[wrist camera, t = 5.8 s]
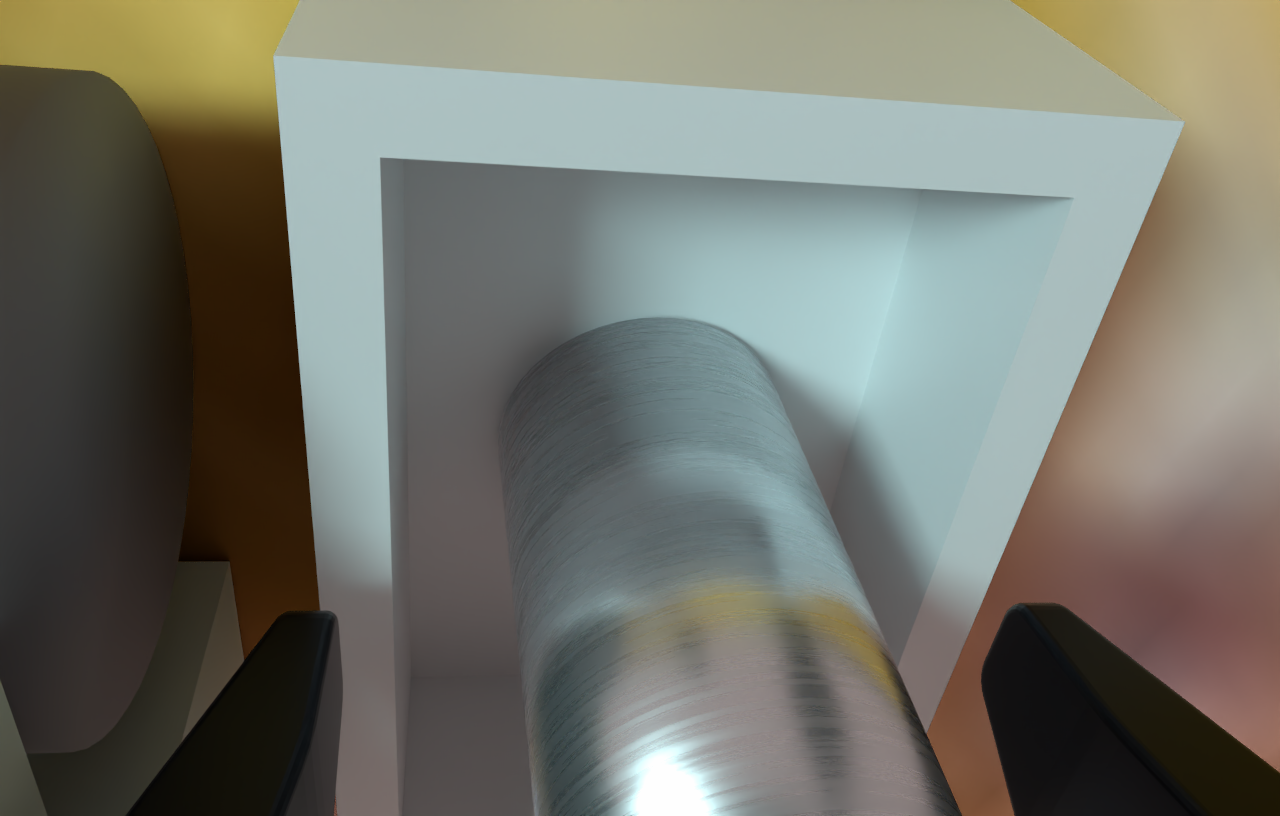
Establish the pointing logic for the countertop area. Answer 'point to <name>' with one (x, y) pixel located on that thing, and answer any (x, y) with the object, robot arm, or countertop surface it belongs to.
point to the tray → (679, 299)
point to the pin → (691, 596)
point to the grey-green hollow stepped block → (95, 458)
